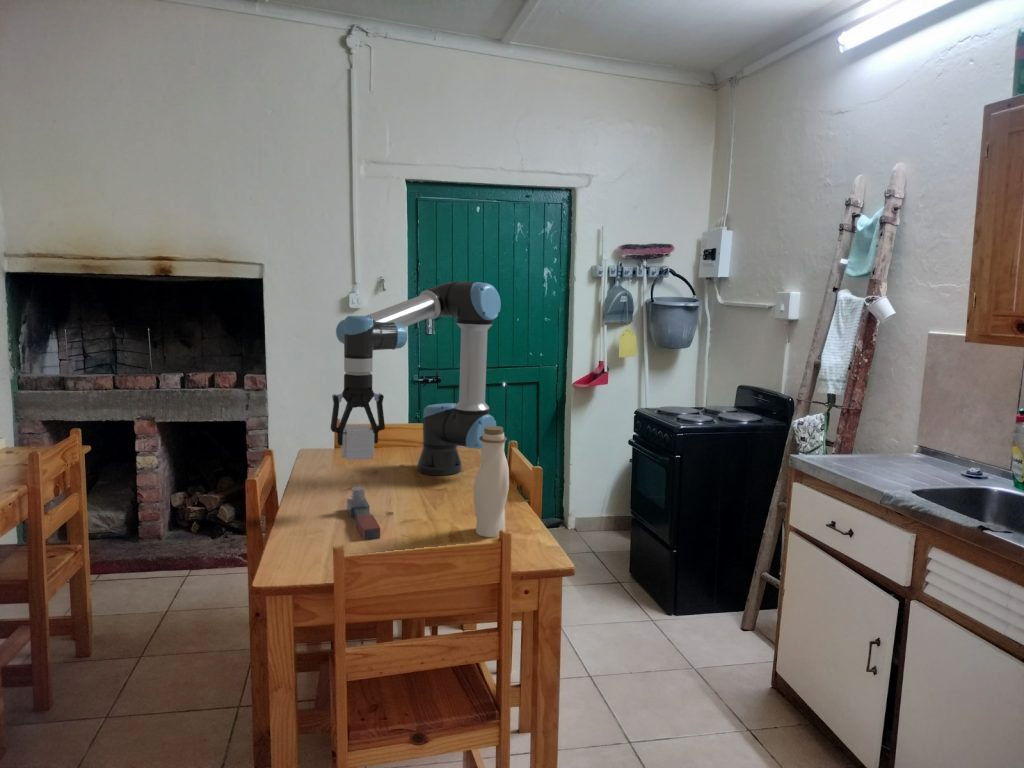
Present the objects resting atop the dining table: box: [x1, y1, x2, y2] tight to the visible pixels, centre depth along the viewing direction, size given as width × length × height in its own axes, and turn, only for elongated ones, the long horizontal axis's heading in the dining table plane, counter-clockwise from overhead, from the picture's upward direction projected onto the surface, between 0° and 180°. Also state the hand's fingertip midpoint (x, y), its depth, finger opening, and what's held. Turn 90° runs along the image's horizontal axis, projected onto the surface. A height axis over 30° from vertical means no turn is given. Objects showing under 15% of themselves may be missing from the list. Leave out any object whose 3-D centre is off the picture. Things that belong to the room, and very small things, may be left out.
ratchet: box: [346, 486, 381, 541], centre depth 181 cm, size 5×24×7 cm, turn 22°
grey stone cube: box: [343, 424, 374, 461], centre depth 186 cm, size 7×7×8 cm
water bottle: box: [473, 425, 510, 538], centre depth 177 cm, size 10×9×28 cm
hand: (357, 455), depth 187 cm, fingers closed on grey stone cube, 7 cm apart
